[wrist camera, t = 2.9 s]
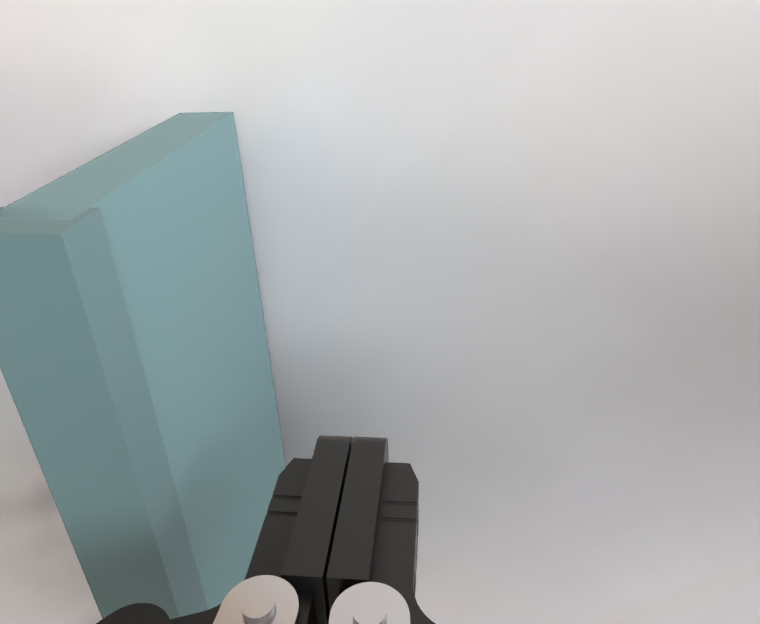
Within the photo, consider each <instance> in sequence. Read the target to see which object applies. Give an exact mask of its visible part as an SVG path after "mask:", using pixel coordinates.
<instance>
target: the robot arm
mask: <svg viewBox="0 0 760 624" xmlns="http://www.w3.org/2000/svg"><path fill="white" fill-rule="evenodd" d="M418 500H419V482H418V480H417V477H416V475H415V473H414V471H413V469H412V467H411V465H410V464H408V463H388V439H387V438H369V437H354V439H353V437H342V436H319V437H318V440H317V443H316V447H315V450H314V454H313V458H312V459H296V458H294V459H293V460H292V461H291V462H290V463H289V464H288V466H287V467H286V468H285V469H284V470H283V471H282V472H281V473H280V474H279V476H278V479H277V482H276V486H275V489H274V492H273V496H272V499H271V501H270V504H269V507H268V510H267V515H266V516H265V519H264V522H263V525H262V528H261V531H260V534H259V537H258V540H257V543H256V547H255V550H254V553H253V556H252V559H251V562H250V565H249V568H248V571H247V574H246V576H245V579H244V581H242V582H241V583H239V584H238V585H236V586H235V587H234V588H233V589H232V590H231V591H230V592H229V593H228V594H227V595H226V597H225V598H224V600H223V602H222V603H221V604H219V605H218V606H216V607H213V608H211V609H209V610H206V611H202V612H198V613H194V614H190V615H186V616H182V617H178V618H173V619H169V616H168V615H167V613H166V612H165V611H164V610H163V609H162V608H160V607H159V606H157V605H154V604H151V603H135V604H130V605H127V606H124V607H122V608H120V609H118V610H116V611H114V612H113V613H111V614H109V615H108V616H106V617H105V618H104V619H102V620H101V621H99V622H98V623H97V624H435V623H434V622H432V621H431V620H430V619H429V618H428V617H427V616H425V614H424V613H423V612H422V611H421V609H420V607H419V606H418V604H417V602H416V599H415V588H416V568H417V547H418Z"/></svg>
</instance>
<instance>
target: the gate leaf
mask: <svg viewBox="0 0 760 624" xmlns="http://www.w3.org/2000/svg"><path fill="white" fill-rule="evenodd" d="M0 368H1V371H2V373H3V375H4V378H5V380H6V383H7V385H8V388H9V390H10V393H11V395H12V398H13V400H14V402H15V405H16V407H17V410H18V412H19V415H20V417H21V420H22V422H23V425H24V427H25V429H26V432H27V434H28V437H29V439H30V442H31V444H32V447H33V449H34V451H35V454H36V456H37V459H38V461H39V464H40V466H41V469H42V471H43V474H44V476H45V478H46V481H47V483H48V486H49V488H50V491H51V493H52V496H53V498H54V501H55V503H56V505H57V508H58V510H59V513H60V515H61V518H62V520H63V523H64V525H65V528H66V530H67V532H68V535H69V537H70V540H71V542H72V545H73V547H74V550H75V552H76V555H77V557H78V559H79V562H80V564H81V567H82V569H83V572H84V574H85V577H86V579H87V582H88V584H89V586H90V589H91V591H92V594H93V596H94V599H95V601H96V604H97V606H98V608H99V611H100V613H101V616H102V618H103V619H104V618H105V617H106V616H108V615H109V614H111V613H113V612H114V611H116V610H118V609H120V608H122V607H124V606H127V605H130V604H135V603H151V604H154V605H157V606H159V607H160V608H162V609H163V610H164V611H165V612H166V613H167V615H168V616H169V619H173V618H178V617H182V616H186V615H190V614H194V613H198V612H202V611H206V610H209V609H211V608H213V607H216V606H218V605H219V604H221V603H222V602H223V600H224V598H225V597H226V595H227V594H228V593H229V592H230V591H231V590H232V589H233V588H234V587H235V586H236V585H238V584H239V583H241V582H242V581H244V579H245V576H246V574H247V571H248V568H249V565H250V562H251V559H252V556H253V553H254V550H255V547H256V543H257V540H258V537H259V534H260V531H261V528H262V525H263V522H264V519H265V516H266V515H267V510H268V507H269V504H270V501H271V499H272V496H273V492H274V489H275V486H276V482H277V479H278V476H279V474H280V473H281V472H282V471H283V470H284V469H285V468H286V466H285V459H284V452H283V445H282V439H281V432H280V425H279V418H278V412H277V405H276V398H275V391H274V384H273V378H272V371H271V364H270V357H269V351H268V344H267V337H266V330H265V324H264V317H263V310H262V303H261V296H260V290H259V283H258V276H257V269H256V263H255V256H254V249H253V242H252V235H251V229H250V222H249V215H248V208H247V202H246V195H245V188H244V181H243V174H242V168H241V161H240V154H239V147H238V141H237V134H236V127H235V120H234V113H233V112H209V113H179V114H177V115H175V116H173V117H171V118H170V119H168V120H166V121H164V122H162V123H160V124H158V125H157V126H155V127H153V128H151V129H149V130H147V131H145V132H144V133H142V134H140V135H138V136H136V137H134V138H132V139H131V140H129V141H127V142H125V143H123V144H121V145H119V146H118V147H116V148H114V149H112V150H110V151H108V152H106V153H105V154H103V155H101V156H99V157H97V158H95V159H93V160H92V161H90V162H88V163H86V164H84V165H82V166H80V167H79V168H77V169H75V170H73V171H71V172H69V173H67V174H65V175H64V176H62V177H60V178H58V179H56V180H54V181H52V182H51V183H49V184H47V185H45V186H43V187H41V188H39V189H38V190H36V191H34V192H32V193H30V194H28V195H26V196H25V197H23V198H21V199H19V200H17V201H15V202H13V203H12V204H10V205H8V206H6V207H0Z"/></svg>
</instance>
